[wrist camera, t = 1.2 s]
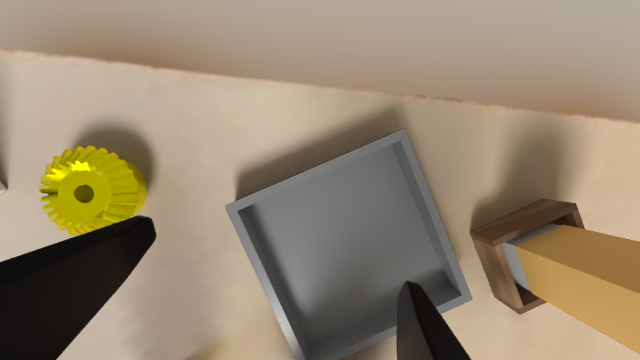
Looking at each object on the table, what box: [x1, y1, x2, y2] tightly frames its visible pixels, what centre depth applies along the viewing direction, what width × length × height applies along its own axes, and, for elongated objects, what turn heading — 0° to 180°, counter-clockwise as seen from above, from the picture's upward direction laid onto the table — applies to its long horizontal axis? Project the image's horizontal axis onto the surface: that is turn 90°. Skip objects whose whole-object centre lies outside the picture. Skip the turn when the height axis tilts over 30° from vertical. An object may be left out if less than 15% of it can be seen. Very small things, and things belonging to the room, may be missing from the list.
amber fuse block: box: [500, 223, 640, 354], centre depth 19 cm, size 5×5×12 cm
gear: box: [39, 146, 147, 236], centre depth 21 cm, size 8×4×8 cm
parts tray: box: [225, 128, 472, 360], centre depth 23 cm, size 17×17×3 cm
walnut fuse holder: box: [470, 199, 585, 314], centre depth 24 cm, size 8×9×3 cm
